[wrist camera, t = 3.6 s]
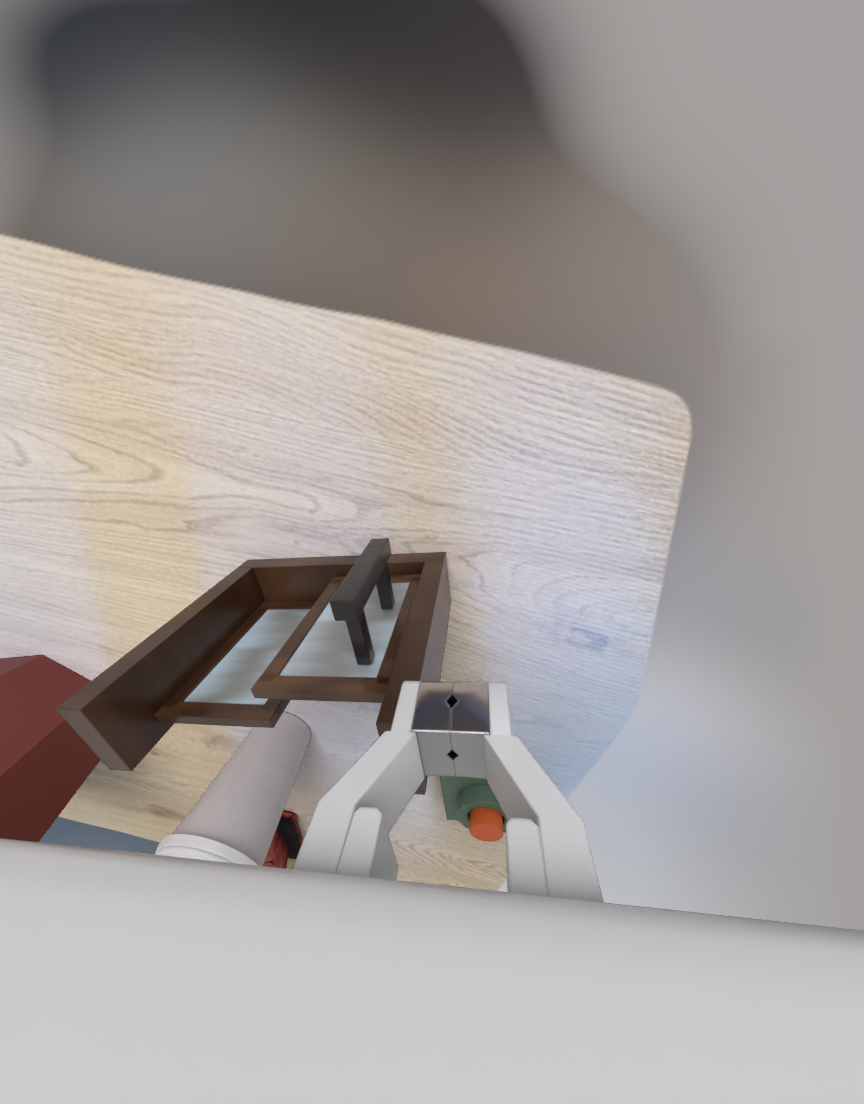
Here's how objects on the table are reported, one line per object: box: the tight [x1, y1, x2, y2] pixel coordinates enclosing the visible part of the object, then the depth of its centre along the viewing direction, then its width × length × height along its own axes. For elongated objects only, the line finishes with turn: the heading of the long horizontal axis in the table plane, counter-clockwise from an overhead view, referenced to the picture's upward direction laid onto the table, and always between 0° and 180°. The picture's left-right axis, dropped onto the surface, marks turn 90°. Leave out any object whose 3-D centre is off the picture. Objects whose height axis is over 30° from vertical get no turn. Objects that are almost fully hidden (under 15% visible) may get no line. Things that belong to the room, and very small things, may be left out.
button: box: [470, 808, 503, 841], centre depth 37 cm, size 4×4×2 cm
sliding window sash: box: [251, 538, 421, 703], centre depth 21 cm, size 8×5×11 cm
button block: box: [440, 776, 508, 832], centre depth 39 cm, size 10×10×4 cm
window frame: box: [56, 552, 451, 795], centre depth 23 cm, size 18×5×16 cm, turn 96°
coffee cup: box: [155, 712, 311, 866], centre depth 35 cm, size 10×10×15 cm
